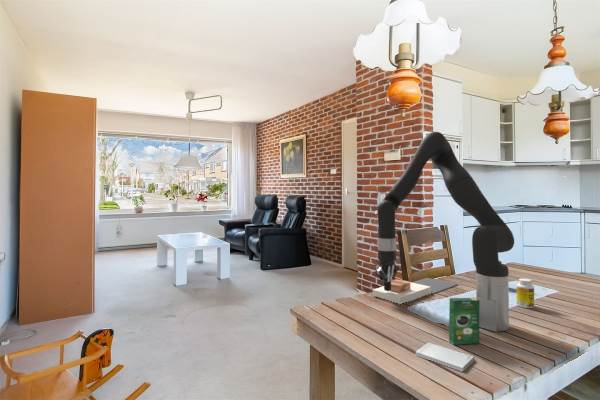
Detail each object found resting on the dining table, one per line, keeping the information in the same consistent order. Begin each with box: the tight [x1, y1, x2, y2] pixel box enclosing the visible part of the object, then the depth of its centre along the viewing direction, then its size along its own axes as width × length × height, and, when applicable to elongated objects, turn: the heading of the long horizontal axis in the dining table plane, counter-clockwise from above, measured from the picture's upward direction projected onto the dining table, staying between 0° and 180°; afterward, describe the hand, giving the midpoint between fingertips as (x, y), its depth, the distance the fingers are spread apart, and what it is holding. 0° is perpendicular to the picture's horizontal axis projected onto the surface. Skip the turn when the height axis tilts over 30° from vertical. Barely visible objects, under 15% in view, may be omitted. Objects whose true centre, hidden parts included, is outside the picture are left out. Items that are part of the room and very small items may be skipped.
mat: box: [412, 277, 459, 295], centre depth 157 cm, size 22×16×1 cm
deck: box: [372, 280, 432, 305], centre depth 144 cm, size 22×14×3 cm, turn 128°
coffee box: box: [448, 297, 480, 346], centre depth 98 cm, size 8×3×13 cm, turn 93°
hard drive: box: [415, 342, 475, 372], centre depth 89 cm, size 2×8×12 cm
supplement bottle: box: [516, 278, 535, 309], centre depth 127 cm, size 6×6×10 cm
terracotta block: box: [390, 279, 411, 293], centre depth 142 cm, size 8×7×3 cm
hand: (387, 290), depth 138 cm, fingers closed
